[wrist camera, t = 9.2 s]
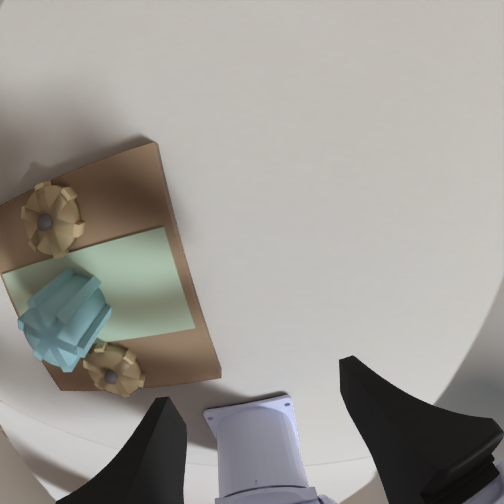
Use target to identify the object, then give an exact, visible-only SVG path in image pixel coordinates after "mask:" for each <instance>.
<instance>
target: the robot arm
mask: <svg viewBox="0 0 504 504" xmlns="http://www.w3.org/2000/svg"><path fill="white" fill-rule="evenodd" d="M339 369H340V392H341V395H342V398H343V400H344V403H345V405H346V408H347V410H348V412H349V414H350V416H351V418H352V420H353V422H354V423H355V425H356V427H357V429H358V431H359V432H360V434H361V436H362V438H363V440H364V441H365V443H366V445H367V447H368V449H369V451H370V453H371V455H372V457H373V460H374V463H375V465H376V468H377V470H378V473H379V476H380V478H381V481H382V484H383V487H384V490H385V492H386V496H387V499H388V502H389V504H504V458H503V459H502V460H501V461H500V462H499V463H498V464H497V465H496V466H495V465H494V464H493V463H492V462H493V461H494V457H493V455H492V454H491V453H492V452H493V451H494V450H495V448H496V447H497V446H498V444H499V443H500V442H501V440H502V439H503V437H504V432H503V430H502V429H501V428H500V427H499V425H498V424H497V423H496V422H495V421H494V420H493V419H492V418H482V417H475V416H468V415H464V414H459V413H455V412H451V411H448V410H445V409H442V408H439V407H436V406H433V405H431V404H428V403H426V402H424V401H422V400H419V399H417V398H415V397H413V396H411V395H409V394H408V393H406V392H404V391H402V390H401V389H399V388H397V387H396V386H394V385H393V384H391V383H389V382H388V381H387V380H385V379H384V378H382V377H381V376H379V375H378V374H376V373H375V372H374V371H372V370H371V369H370V368H369V367H367V366H366V365H365V364H363V363H362V362H361V361H360V360H358V359H357V358H356V357H355V356H353V355H352V356H350V357H347V358H344V359H340V360H339ZM285 403H286V404H285ZM203 415H204V417H205V419H206V421H207V423H208V425H209V427H210V429H211V431H212V432H213V434H214V436H215V438H216V440H217V447H218V480H219V498H215V504H337V503H336V502H335V501H334V500H333V499H331V498H329V497H328V496H326V495H319V496H317V493H316V489H315V487H309V484H308V480H307V477H306V473H305V469H304V466H303V462H302V458H301V455H300V451H299V447H300V443H299V437H298V431H297V426H296V420H295V414H294V409H293V403H292V398H291V396H290V395H283V396H279V397H275V398H270V399H266V400H261V401H256V402H251V403H245V404H240V405H234V406H228V407H221V408H215V409H207V410H205V411H204V412H203ZM186 451H187V432H186V424H185V422H184V421H183V419H182V417H181V416H180V414H179V413H178V411H177V409H176V408H175V406H174V404H173V403H172V401H171V399H170V397H161V398H156V399H155V401H154V402H153V404H152V405H151V407H150V408H149V410H148V411H147V413H146V414H145V416H144V418H143V419H142V421H141V422H140V424H139V425H138V427H137V428H136V430H135V431H134V433H133V434H132V436H131V437H130V438H129V440H128V441H127V442H126V444H125V445H124V446H123V448H122V449H121V450H120V451H119V453H118V454H117V455H116V456H115V457H114V458H113V459H112V461H111V462H110V463H109V464H108V465H107V466H106V467H105V468H104V469H103V470H101V471H100V472H99V473H98V474H97V475H96V476H95V477H94V478H92V479H91V480H90V481H89V482H87V483H86V484H85V485H83V486H82V487H80V488H79V489H77V490H76V491H74V492H73V493H71V494H69V495H67V496H65V497H64V498H62V499H60V500H58V501H56V504H184V497H183V485H184V473H185V462H186Z"/></svg>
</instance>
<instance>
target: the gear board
mask: <svg viewBox="0 0 504 504" xmlns="http://www.w3.org/2000/svg"><path fill="white" fill-rule="evenodd" d="M70 268H73V271H74V273H75V274H81V275H84V276H87V277H88V278H90V279H91V278H92V277H93V276H94V275H95V276H96V277H97V278H98V279H99V280H100V281H101V282H102V283H101V285H100V286H99V288H100V289H101V291H102V293H103V295H104V298H105V301H106V305H108V306H111V307H112V309H111V316H110V317H109V319H108V320H107V322H106V323H105V325H104V327H103V328H102V330H101V331H100V333H99V334H98V336H97V338H96V339H95V341H94V342H93V344H92V346H91V347H90V349H89V351H88V352H87V354H86V356H85V357H84V358H82V357H80V359H79V361H78V362H77V364H76V366H75V367H74V369H73V371H72V372H63V370H62V369H61V367H59V366H55V365H53V364H50V363H48V362H47V361H45V360H44V359H42V360H41V361H42V362H43V364H44V366H45V367H46V369H47V370H48V372H49V374H50V375H51V377H52V378H53V380H54V381H55V383H56V384H57V386H58V387H59V389H60V390H61V391H99V390H107V391H109V392H111V393H115V394H120V395H121V396H122V397H130V396H131V393H133V392H135V391H136V390H137V388H149V387H160V386H169V385H177V384H185V383H193V382H200V381H206V380H212V379H219V378H221V366H220V363H219V360H218V358H217V355H216V352H215V349H214V346H213V343H212V340H211V337H210V334H209V331H208V328H207V325H206V322H205V319H204V316H203V313H202V310H201V307H200V303H199V300H198V297H197V294H196V291H195V287H194V284H193V281H192V277H191V274H190V270H189V267H188V264H187V260H186V257H185V253H184V249H183V246H182V242H181V239H180V235H179V231H178V227H177V223H176V220H175V216H174V212H173V208H172V204H171V200H170V196H169V191H168V187H167V183H166V179H165V174H164V170H163V165H162V161H161V156H160V152H159V147H158V144H157V143H154V142H152V143H149V144H146V145H143V146H139V147H136V148H133V149H130V150H127V151H124V152H121V153H118V154H115V155H113V156H110V157H107V158H104V159H102V160H99V161H96V162H94V163H91V164H89V165H86V166H83V167H81V168H79V169H76V170H74V171H71V172H69V173H67V174H64V175H62V176H60V177H57V178H55V179H53V180H51V181H45V182H41V183H39V184H37V185H35V186H34V189H32V190H30V191H28V192H26V193H24V194H22V195H20V196H18V197H16V198H14V199H13V200H11V201H9V202H7V203H5V204H3V205H2V206H0V275H1V277H2V280H3V283H4V285H5V288H6V290H7V293H8V295H9V297H10V300H11V302H12V304H13V307H14V309H15V311H16V313H17V315H18V318H19V317H20V316H21V315H22V314H24V313H25V312H26V311H27V310H28V309H29V307H28V305H27V303H26V302H27V301H28V300H29V299H30V298H31V297H32V296H34V295H35V294H36V293H37V292H38V291H39V290H41V289H42V288H43V287H44V286H46V285H47V284H48V283H49V282H50V281H52V280H53V279H54V278H55V277H57V276H58V275H59V274H60V273H62V272H63V271H64V270H66V269H70Z"/></svg>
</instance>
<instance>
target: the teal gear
mask: <svg viewBox="0 0 504 504" xmlns="http://www.w3.org/2000/svg"><path fill="white" fill-rule="evenodd" d="M101 283H102V282H101V281H100V280H99V279H98V278H97V277H96V276H95V275H94V276H93V277H92V278H91V279H90V278H88V277H87V276H84V275H81V274H75V273H74V271H73V268H70V269H66V270H64V271H63V272H62V273H60V274H59V275H58V276H57V277H55V278H54V279H53V280H52V281H50V282H49V283H48V284H47V285H46V286H44V287H43V288H42V289H41V290H39V291H38V292H37V293H36V294H35V295H34V296H32V297H31V298H30V299H29V300H28V301H27V302H26V303H27V305H28V307H29V309H28V310H27V311H26V312H25V313H24V314H22V315H21V316H20V317H19V318H18V319H17V321H18V328H19V329H20V330H22V331H24V334H25V337H26V339H27V341H28V343H29V344H30V346H31V347H32V349H33V350H34V352H33V353H32V354H33V355H34V356H35V357H36V358H37V359H38V360H39V361H41V360H42V359H44V360H45V361H47V362H48V363H50V364H53V365H55V366H59V367H61V369H62V370H63V372H72V371H73V369H74V367H75V366H76V364H77V362H78V361H79V359H80V357H82V358H84V357H85V356H86V354H87V352H88V351H89V349H90V347H91V346H92V344H93V342H94V341H95V339H96V338H97V336H98V334H99V333H100V331H101V330H102V328H103V327H104V325H105V323H106V322H107V320H108V319H109V317H110V316H111V309H112V307H111V306H108V305H106V301H105V298H104V295H103V293H102V291H101V289H100V288H99V286H100V285H101Z"/></svg>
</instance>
